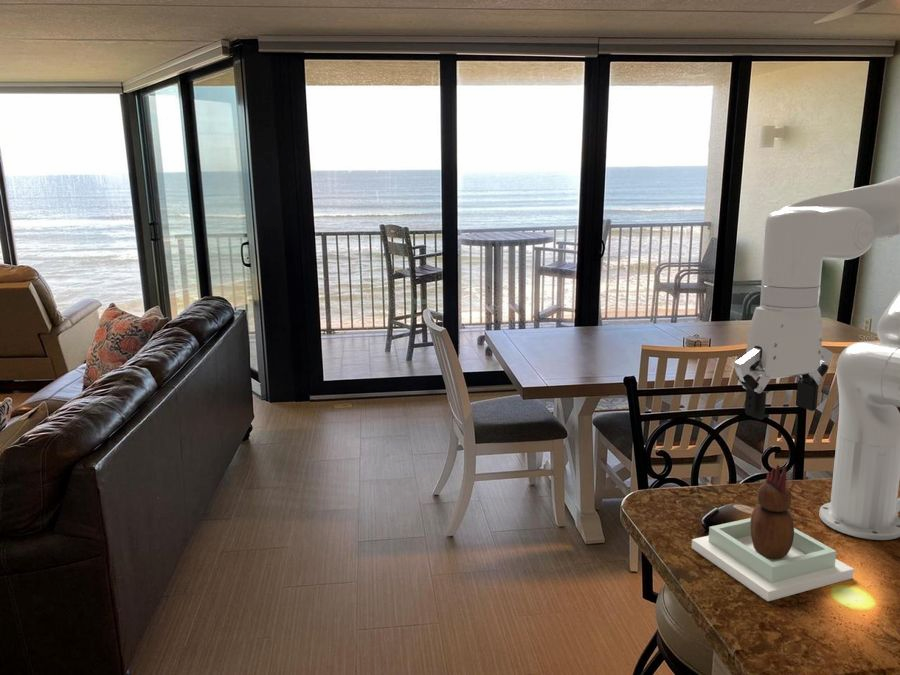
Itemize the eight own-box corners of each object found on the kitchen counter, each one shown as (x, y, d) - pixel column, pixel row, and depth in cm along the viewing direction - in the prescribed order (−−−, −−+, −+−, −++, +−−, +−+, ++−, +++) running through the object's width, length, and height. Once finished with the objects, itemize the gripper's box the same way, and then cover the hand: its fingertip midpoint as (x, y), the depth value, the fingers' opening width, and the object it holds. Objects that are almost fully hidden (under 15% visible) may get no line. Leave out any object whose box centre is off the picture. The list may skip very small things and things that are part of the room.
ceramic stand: (769, 529, 115) (771, 508, 114) (853, 578, 100) (855, 553, 99) (691, 547, 109) (692, 525, 109) (767, 601, 95) (769, 575, 94)
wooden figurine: (796, 566, 101) (805, 471, 98) (755, 562, 102) (762, 469, 99) (783, 543, 107) (791, 454, 104) (745, 540, 108) (751, 452, 105)
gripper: (813, 290, 103) (804, 398, 106) (721, 298, 97) (715, 412, 100) (858, 296, 96) (846, 412, 99) (761, 306, 90) (753, 428, 94)
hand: (780, 412), depth 100 cm, fingers open, 9 cm apart
